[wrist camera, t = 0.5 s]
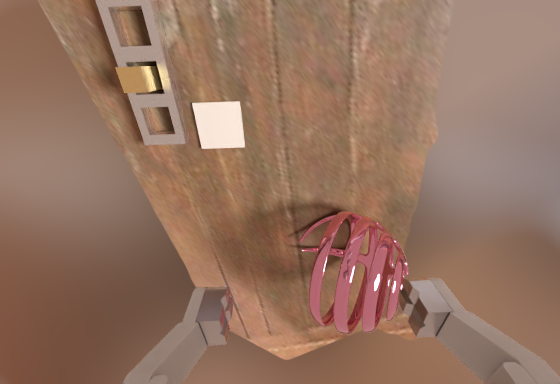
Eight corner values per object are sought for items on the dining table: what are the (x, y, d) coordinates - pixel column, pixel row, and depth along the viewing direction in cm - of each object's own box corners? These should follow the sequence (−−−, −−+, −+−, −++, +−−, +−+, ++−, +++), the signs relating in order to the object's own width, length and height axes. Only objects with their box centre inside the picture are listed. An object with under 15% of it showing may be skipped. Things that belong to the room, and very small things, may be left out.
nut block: (140, 66, 44) (115, 67, 38) (160, 66, 44) (138, 66, 37) (146, 88, 46) (124, 93, 39) (166, 88, 46) (146, 92, 39)
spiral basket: (267, 326, 56) (385, 396, 41) (263, 223, 48) (407, 263, 33) (316, 269, 78) (404, 301, 63) (319, 192, 70) (420, 208, 55)
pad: (193, 102, 48) (192, 103, 47) (239, 100, 48) (239, 101, 47) (202, 147, 53) (201, 148, 52) (245, 146, 53) (244, 147, 52)
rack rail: (104, -5, 39) (91, -10, 36) (155, -8, 39) (146, -13, 36) (151, 141, 52) (145, 145, 49) (190, 139, 52) (185, 143, 49)
